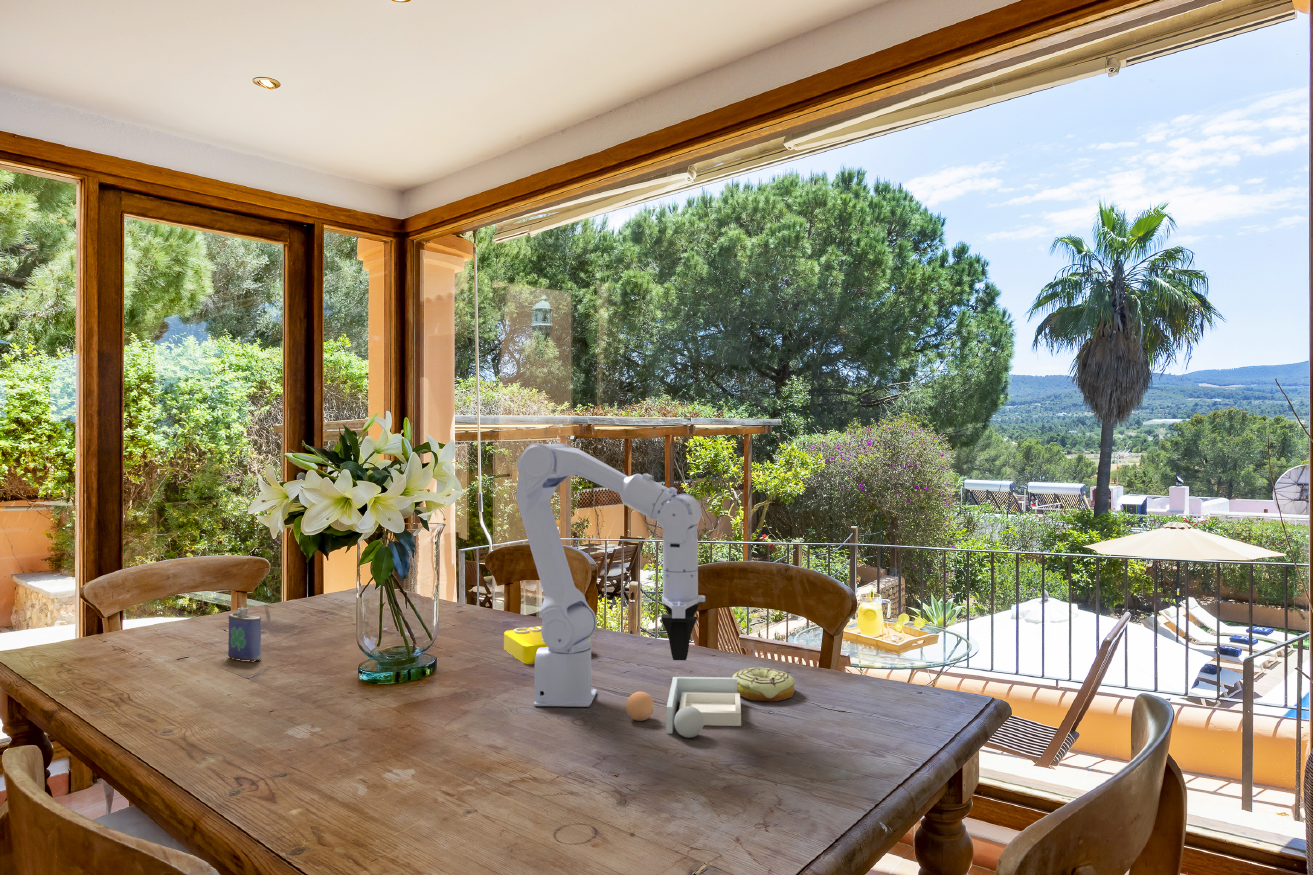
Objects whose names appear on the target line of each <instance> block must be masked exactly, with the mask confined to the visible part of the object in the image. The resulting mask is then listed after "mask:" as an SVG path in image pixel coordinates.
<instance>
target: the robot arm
mask: <svg viewBox="0 0 1313 875" xmlns="http://www.w3.org/2000/svg"><path fill="white" fill-rule="evenodd" d="M515 464H516V468H517V471H518V478H517V485H516V493H515V500H516V503H517V507H518V508H517V509H518V510H519V514H520V517H521V521H522V524H523V527H524V531H525V535H526V537H527V540H528V544H529V547H530V551H531V554H532V558H533V562H534V565H535V568H536V571H537V572H536V573H537V575H538V578H539V581H540V582H539V583H540V585H541V588H542V592H543V595H544V598H543V600H542V601H543V602H542V604H541V607H540V610H539V613H540V616H541V622H542V623H541V626H542V629H541V633H542V638H543V640H544V642H545V644H546V645H547V646H548V647H541V648H538V650H537V652H536V656H535V665H533V666H534V669H533V670H534V673H533V674H534V677H533V678H534V702H533V706H534V707H569V708H570V707H572V708H573V707H579V708H582V707H583V708H585V707H586V708H587V707H588V708H589V707H591V705H592V703H593V701H594V699H595V697H596V695H597V692H598V690H597V689H596V688H592V641H591V642H590V636H592V635H593V634H594V633H595V631H596V628H597V624H598V621H597V615H596V613H595V611H594V610H593V609H592V608H591V607H590V606H589V604H588V602H587V599H586V596H585V594H584V593H583V592H581V590H580V589H578V588H577V587H576V586H575V582H574V578H573V576H572V572H571V568H570V564H569V563H568V558H567V556H566V552H565V549H564V545H563V543H562V539H561V535H560V532H559V528H558V525H557V521H556V519H555V518H556V517H555V516H554V512H553V509H552V505H551V502H550V501H551V498H552V497H553V495H554V493H555V491H556V490H557V488H558V486H559V485H561V484H562V483H563V482H564V481H565V480H566V479H567V478H569V477H570V476H580V477H582V478H584V479H586V480H587V481H591V482H593V483H595V484H597V485H599V486H602V487H604V488H606V489H607V490H610V491H613V492H614V493H617V494H618V495H619V497H620V499H621V503H622V504H623V505H624V506H626V507H628V508H630V509H632V510H634V511H636V512H637V513H640V514H641V515H644V516H645V517H647V518H649V519H651V520H653V521H657V523H658V524H659V526H660V527H661V529H662V596H661V602H662V603H663V604H664V608H665V610H666V612H667V613H664V614H661V616H660V618H661V623H662V624H663V626H664V629H665V631H666V634H667V637H668V641H669V647H670V653H671V657H672V660H673V661H687V658H688V654H689V649H690V648H689V647H690V643H691V642H690V640H691V637H692V636H691V635H692V632H693V630H694V627H695V625H696V623H697V621H698V616H695V615H696V612H697V610H698V608H699V603H705V602H706V596H705V595H702V594H701V595H699V542H698V526H697V524H699V522H700V520H701V519H702V518H701V517H702V512H703V511H702V506H701V504H700V503H699V501H698V500H697V498H695V497H694V496H692V495H691V494H690V493H680V494H678V493H677V492H678V489H677V488H676V487H673V486H672V487H671V486H670V487H667V486H665V485H663V484H661V483H659V482H656V481H654V480H653V478H654V477H653V475H651V474H649V473H648V472H647V473H643V474H641V473H635V474H632V475H630V476H628V475H627V474H625V473H623V472H620V471H619V470H618V469H616V468H614V467H612V466H610V465H608V464H607V463H605V462H603V461H602V460H599V459H598V458H595V457H594V456H592V455H590V454H589V453H587V452H585V451H583V450H582V449H580V448H576V447H572V446H570V445H568V444H566V443H564V442H557V443H538V442H537V443H532V444H529V445H528V446H526V447H525V449H524V450H523V452H522V453H521V454H520V457H519V458H518V459H517V461H516V463H515Z"/></svg>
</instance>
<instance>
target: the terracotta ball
mask: <svg viewBox="0 0 1313 875" xmlns="http://www.w3.org/2000/svg"><path fill="white" fill-rule="evenodd" d="M625 707H626V712H627V714H628V716H629V717H630V718H632V719H633V720H635V721H638V722H643V721H646V720H648V719H649V718H650V717H651V716H652V715H653V714H654V710H655V703H654V700H653V697H652V696H651V695H650V694H649V693H647V692H645V691H639V690H638V691H636V692H634V693H632V694H631V695H629V697H628V698H627V701H626V706H625Z"/></svg>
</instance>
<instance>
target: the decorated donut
mask: <svg viewBox="0 0 1313 875" xmlns="http://www.w3.org/2000/svg"><path fill="white" fill-rule="evenodd" d="M731 678H737V693H740V697H743V698H744V699H746V700H751V701H752V702H753V701H759V702H760V701H761V702H764V701H765V702H771V701H772V702H774V701H776V702H778V701H782V700H784V701H785V700H786V699H790V698H792V697H793V695H794V692H795V684H796V681H795V679H794V677H792V676H791V675H790V674H789V673H787V672H785V671H783V670H779V669H776V668H775V669H774V668H771V667H756V666H755V667H747V668H743V669H740V670H738V671H737V672H735V673H734V674H732V677H731Z"/></svg>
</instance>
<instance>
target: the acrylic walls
mask: <svg viewBox="0 0 1313 875" xmlns="http://www.w3.org/2000/svg"><path fill="white" fill-rule="evenodd" d="M671 680H672V682H671V684H670V689H669V694H668V699H667V703H666V734H667V735H669V734H670V735H671V734H673V731H674V727H675V725H674V719H675V715H676V713H677V709H678V708H677V707H678V703H680V701H681V695H682V692H715V693H737V678H732V677H721V676H720V677H714V676H711V677H708V676H706V677H705V676H672V679H671Z"/></svg>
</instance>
